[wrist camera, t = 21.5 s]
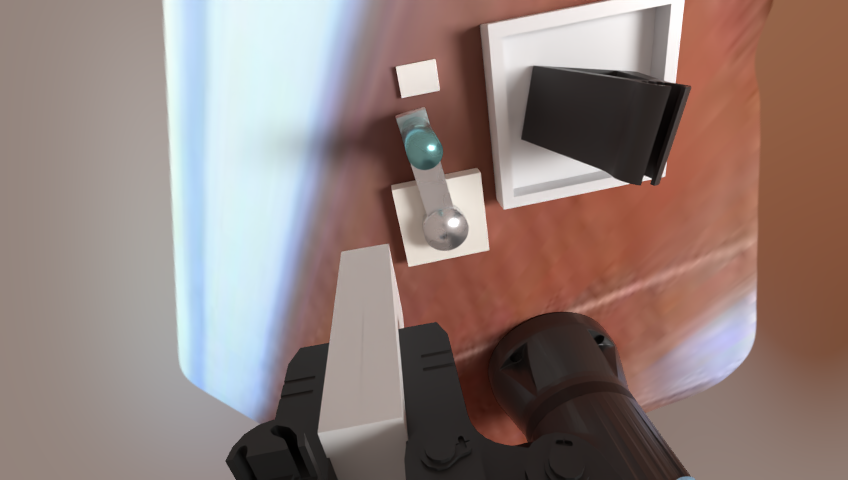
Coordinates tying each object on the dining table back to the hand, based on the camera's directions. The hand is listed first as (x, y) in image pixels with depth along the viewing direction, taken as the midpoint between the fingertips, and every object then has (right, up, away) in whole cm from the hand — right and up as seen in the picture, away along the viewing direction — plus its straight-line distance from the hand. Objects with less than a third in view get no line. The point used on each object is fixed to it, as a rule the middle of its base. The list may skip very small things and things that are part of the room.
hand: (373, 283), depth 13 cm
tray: (+15, +13, +23) cm, 30 cm away
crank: (+2, +7, +23) cm, 24 cm away
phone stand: (+15, +13, +22) cm, 30 cm away
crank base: (+2, +8, +24) cm, 25 cm away
